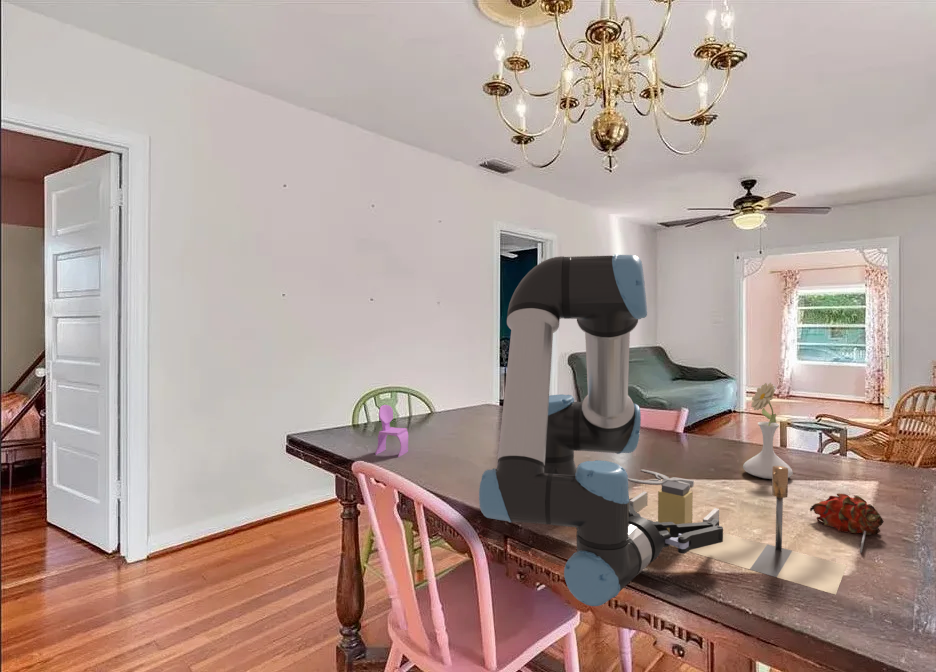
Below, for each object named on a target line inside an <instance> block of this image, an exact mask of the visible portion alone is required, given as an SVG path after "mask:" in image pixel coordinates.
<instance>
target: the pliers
mask: <svg viewBox="0 0 936 672" xmlns="http://www.w3.org/2000/svg"><path fill="white" fill-rule="evenodd" d="M640 472H642V473H643V472H644V473H646V474H650V475H654V476H655V477H656V479H646V480H645V479H636V478H631V477H628V482H634V483H639V484H645V485H663V484H664V483H666V482H667V481H671V482H676V483H681V484H686V485H689V490H690V489H691V487H694V486H695V485H694V483H695V482H694V480H691V479H687V478H681V477H676V476H675V477H669V476H667V475H665V474H662V473H660V472H656V471H652V470H647V469H640Z"/></svg>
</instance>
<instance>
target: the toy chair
mask: <svg viewBox="0 0 936 672" xmlns="http://www.w3.org/2000/svg"><path fill="white" fill-rule="evenodd" d="M378 418H379V420H380V423H381V427H382V430H380V431H378V435H377V446H376V451H375V453H374V455H375V456H377V455H378V454H380V453H382V452H384V451H386V448H387V447H386V445H387V443H386V442H387V438H388V436H392V437H393V436H394V437H396V438H397V439H398V441H399V443H400V448H399V452H398V455H397V458H400V457H402V456H404V455H405V454H407V453H408V452H409V432H408V428H406V427H393V426H391V425H390V423H391V421H392V420H394V409H393V408H392V406H391V405H388V404H384V405H381V406H380V407H379V410H378Z"/></svg>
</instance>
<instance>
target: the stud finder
mask: <svg viewBox="0 0 936 672" xmlns="http://www.w3.org/2000/svg"><path fill="white" fill-rule="evenodd" d="M693 495H694V492H693V491H692V490H690V489H689V485H686V484H681V483H676V482H671V481H667V482H666V483H664V484H661V489H659V490H658V492H657V519H658V522H660V523H662V522H673V523H674V524H685V523H693ZM667 529H668V531H669V532H670V528H667Z"/></svg>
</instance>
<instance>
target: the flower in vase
mask: <svg viewBox="0 0 936 672" xmlns="http://www.w3.org/2000/svg"><path fill="white" fill-rule="evenodd" d="M775 392H776V389H775V386H774V385H773V383H772V382H769V383H767V382H764V384H762V385H760V387H757V388H756V392H755V393H754V395H753V396H752V398H751V401H752V402H751V408H753V410H754V411H759V410H761V414H762V415H763V416H764V417H765V418H767V420H769V421H758V422H757V425H758V426H759V428H760V431H761V434H762V449H761V451H760V452H759V453H757V454H756V455H754V456H753V457H751V458H749V459H748V460H746V461H745V462H744V463H743V466H742V468H743V470H744V471H745V472H746V473H747V474H750V475H752V476H755V477H758V478H762V479H769V480H772V472H773V466H783V467H786V468H788V478H790V477H791V476H792V475H793V474H794V472H793V469H792V467H791V466H790V465H789V464H788V463H786V461H784V460H783V459H782V458H780V457H779V456H778V455H777V454H776V453H775V451H774V435H775V432H776V430H777V429H778V428H779V426H780V424H779V423H778V422H777V418H776V417H777V413H774V409H773V406H772V404H771V401H772V400H773V397H774V395H775ZM767 405H768V406H769V407H770V410H771V413H769V412H768V411H767V410H766V409H765V408H766V407H767Z"/></svg>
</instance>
